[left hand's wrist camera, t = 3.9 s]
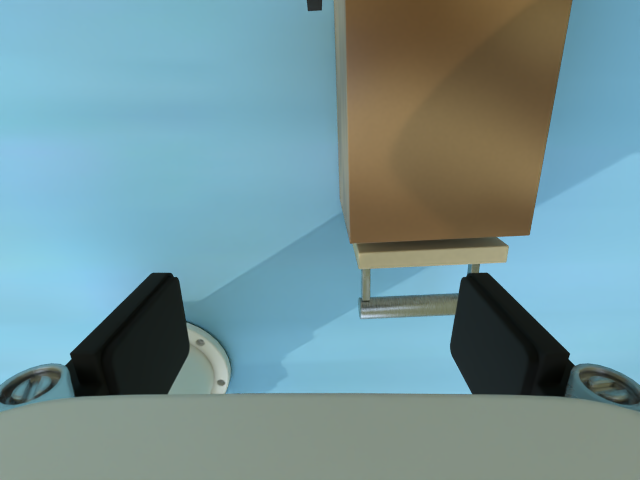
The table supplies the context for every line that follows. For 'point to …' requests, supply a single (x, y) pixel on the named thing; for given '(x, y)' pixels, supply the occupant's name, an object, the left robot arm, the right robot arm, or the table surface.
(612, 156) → the table surface
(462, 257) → the drawer
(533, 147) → the cabinet
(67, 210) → the table surface
